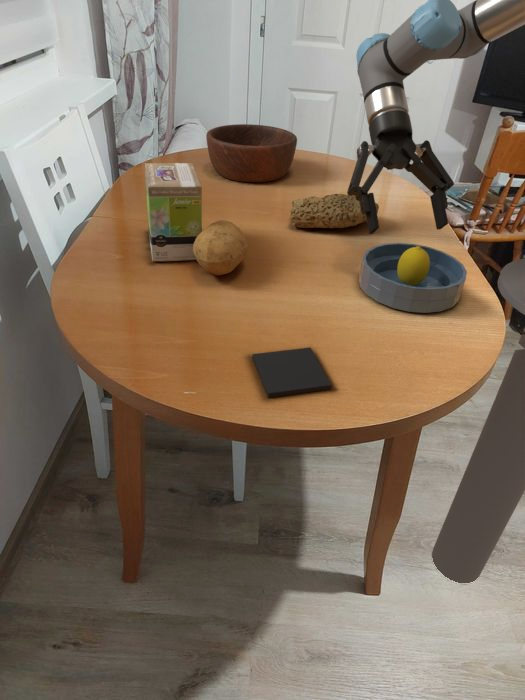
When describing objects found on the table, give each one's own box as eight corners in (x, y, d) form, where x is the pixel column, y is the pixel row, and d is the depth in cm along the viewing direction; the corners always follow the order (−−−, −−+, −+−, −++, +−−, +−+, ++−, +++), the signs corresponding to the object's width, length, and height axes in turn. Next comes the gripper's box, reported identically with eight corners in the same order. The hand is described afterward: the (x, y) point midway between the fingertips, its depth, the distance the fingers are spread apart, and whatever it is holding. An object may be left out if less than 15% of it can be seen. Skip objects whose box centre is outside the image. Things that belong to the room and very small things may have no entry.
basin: (427, 263, 105) (433, 240, 102) (479, 309, 91) (487, 284, 88) (344, 269, 101) (347, 246, 98) (384, 319, 87) (390, 293, 84)
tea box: (204, 260, 101) (202, 185, 92) (151, 263, 99) (145, 186, 90) (195, 230, 113) (193, 160, 104) (148, 231, 111) (142, 161, 102)
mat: (310, 351, 78) (310, 347, 78) (331, 389, 71) (331, 384, 71) (252, 358, 76) (252, 353, 76) (268, 397, 69) (268, 393, 69)
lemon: (411, 277, 98) (421, 238, 94) (430, 291, 94) (440, 251, 90) (387, 281, 97) (396, 242, 92) (404, 296, 93) (414, 255, 88)
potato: (184, 283, 93) (182, 242, 88) (203, 251, 104) (202, 213, 100) (237, 290, 92) (238, 248, 87) (251, 256, 103) (252, 218, 99)
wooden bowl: (262, 155, 162) (263, 120, 156) (312, 178, 146) (315, 140, 140) (191, 165, 150) (190, 128, 144) (236, 192, 134) (237, 151, 128)
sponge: (292, 239, 114) (384, 227, 111) (287, 203, 111) (382, 190, 108) (294, 226, 126) (378, 216, 123) (291, 194, 123) (376, 182, 120)
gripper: (437, 131, 102) (457, 232, 100) (318, 132, 97) (337, 240, 94) (459, 107, 95) (482, 216, 92) (332, 107, 90) (352, 223, 87)
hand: (409, 228), depth 93 cm, fingers open, 13 cm apart
